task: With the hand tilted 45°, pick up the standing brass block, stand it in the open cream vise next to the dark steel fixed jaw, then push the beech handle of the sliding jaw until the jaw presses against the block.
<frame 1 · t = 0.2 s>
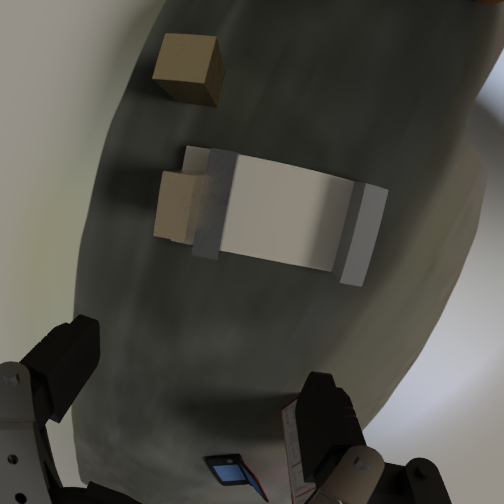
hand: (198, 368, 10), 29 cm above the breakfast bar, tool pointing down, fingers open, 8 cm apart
sliding jaw: (198, 203, 31), point 6 cm above the breakfast bar, slide at 0.0 cm
handheld game console: (238, 467, 52), on the breakfast bar
vise: (273, 211, 38), on the breakfast bar
brass block: (201, 86, 33), on the breakfast bar
cracker box: (318, 415, 47), on the breakfast bar
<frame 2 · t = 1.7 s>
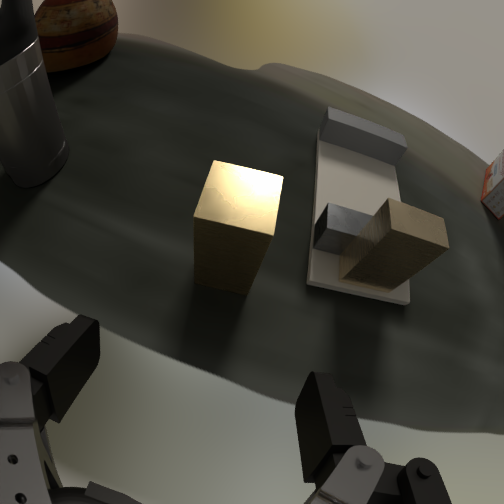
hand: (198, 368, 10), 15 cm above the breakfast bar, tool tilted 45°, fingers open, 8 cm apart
sliding jaw: (388, 238, 26), point 6 cm above the breakfast bar, slide at 0.0 cm
vise: (359, 205, 36), on the breakfast bar
brass block: (226, 265, 29), on the breakfast bar
cracker box: (490, 193, 46), on the breakfast bar
brown vase: (75, 60, 45), on the breakfast bar
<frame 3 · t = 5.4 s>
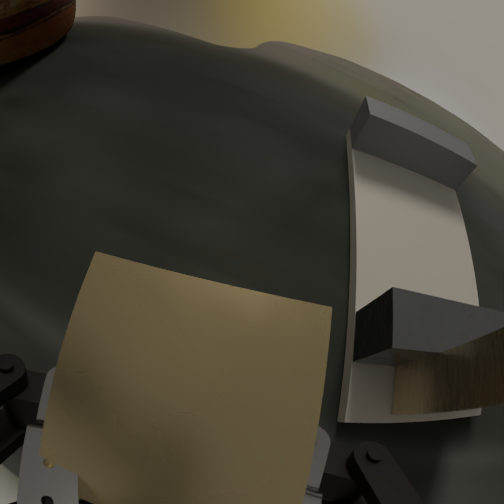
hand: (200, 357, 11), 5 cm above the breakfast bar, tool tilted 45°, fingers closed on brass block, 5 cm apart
sliding jaw: (487, 350, 11), point 6 cm above the breakfast bar, slide at 0.0 cm
vise: (417, 260, 21), on the breakfast bar
brass block: (194, 401, 14), on the breakfast bar, touching gripper
brown vase: (26, 51, 30), on the breakfast bar
when the fingers open (7 cm above the breakfast bar, at t = 11.8 s): brass block drops 1 cm, resting on vise.
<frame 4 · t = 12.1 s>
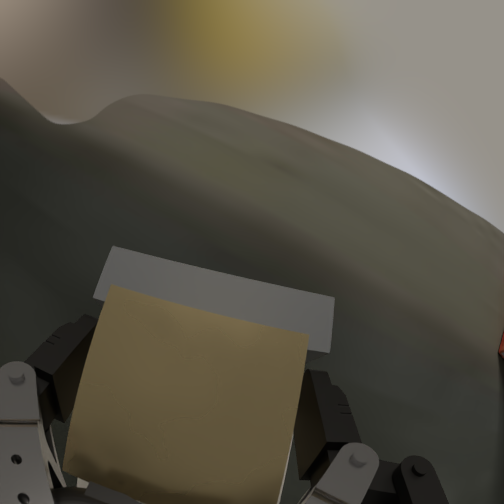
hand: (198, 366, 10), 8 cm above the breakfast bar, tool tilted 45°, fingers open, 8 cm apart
vise: (179, 480, 14), on the breakfast bar
brass block: (194, 403, 15), point 1 cm above the breakfast bar, touching vise
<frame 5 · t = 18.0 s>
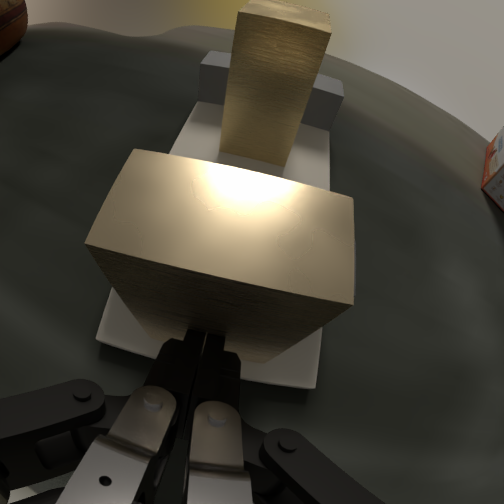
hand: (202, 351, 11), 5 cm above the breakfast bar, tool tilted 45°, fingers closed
sliding jaw: (225, 257, 12), point 6 cm above the breakfast bar, slide at 0.4 cm, touching gripper
vise: (243, 196, 21), on the breakfast bar
brass block: (257, 138, 23), point 1 cm above the breakfast bar, touching vise
cracker box: (494, 179, 31), on the breakfast bar
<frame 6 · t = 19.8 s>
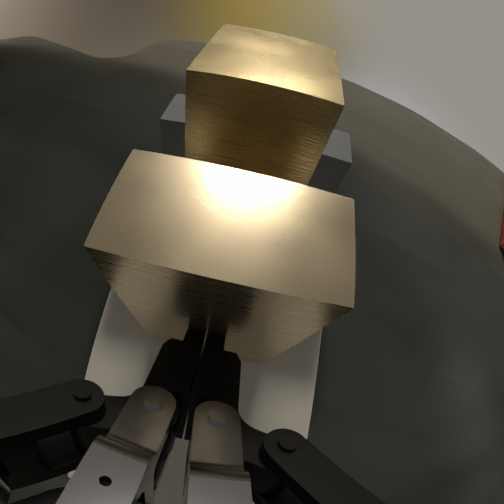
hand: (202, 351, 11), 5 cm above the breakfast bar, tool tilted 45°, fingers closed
sliding jaw: (225, 257, 12), point 6 cm above the breakfast bar, slide at 8.9 cm, touching brass block, gripper
vise: (216, 310, 17), on the breakfast bar
brass block: (237, 216, 19), point 1 cm above the breakfast bar, touching sliding jaw, vise
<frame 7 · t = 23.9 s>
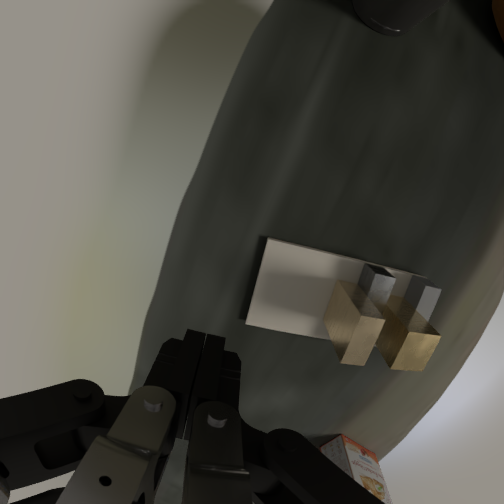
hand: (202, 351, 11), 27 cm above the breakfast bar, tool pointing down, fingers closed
sliding jaw: (361, 321, 34), point 6 cm above the breakfast bar, slide at 9.5 cm, touching brass block
vise: (341, 299, 40), on the breakfast bar
brass block: (383, 310, 39), point 1 cm above the breakfast bar, touching sliding jaw, vise
cracker box: (349, 449, 50), on the breakfast bar
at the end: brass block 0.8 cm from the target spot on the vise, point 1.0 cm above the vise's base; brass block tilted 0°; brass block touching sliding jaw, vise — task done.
